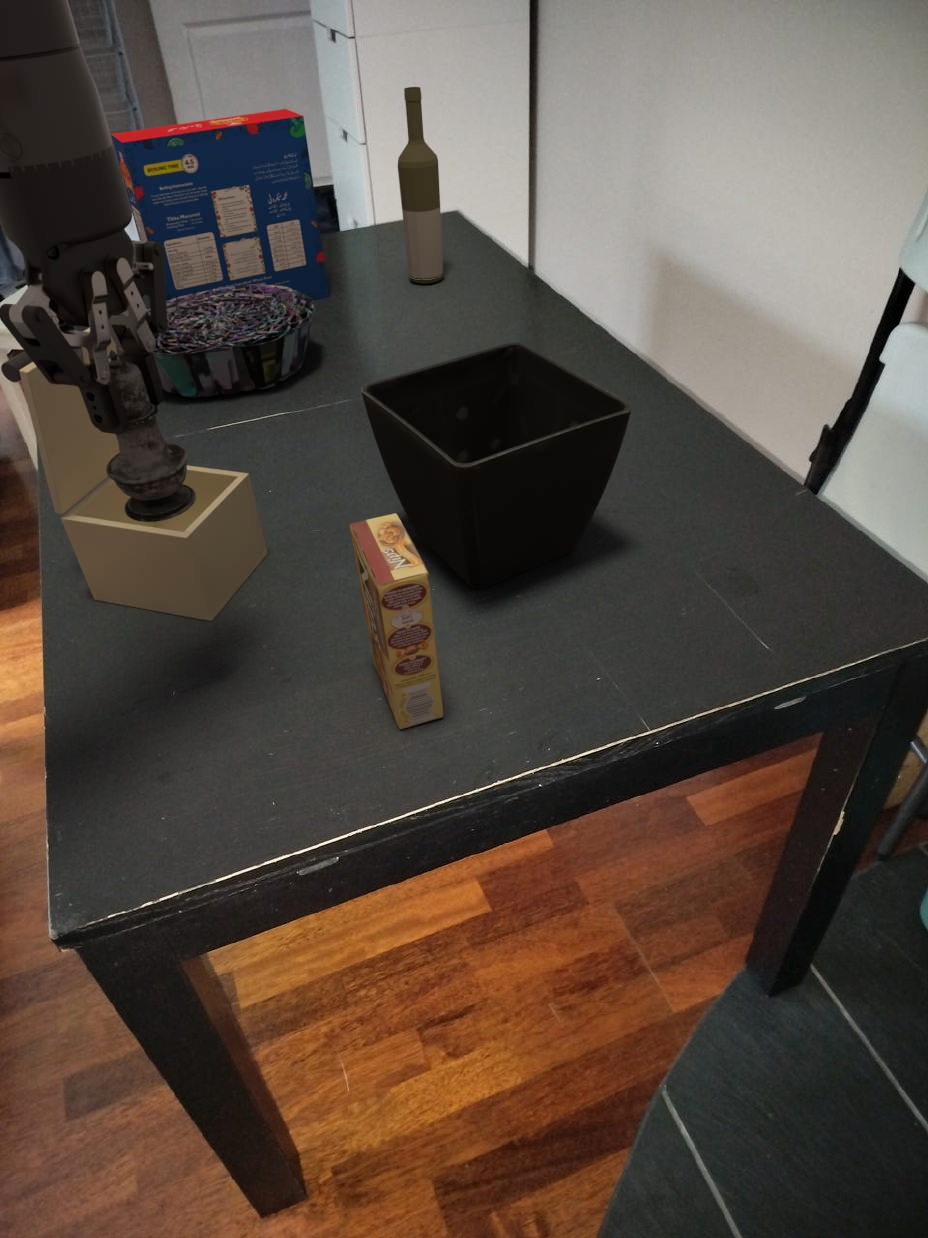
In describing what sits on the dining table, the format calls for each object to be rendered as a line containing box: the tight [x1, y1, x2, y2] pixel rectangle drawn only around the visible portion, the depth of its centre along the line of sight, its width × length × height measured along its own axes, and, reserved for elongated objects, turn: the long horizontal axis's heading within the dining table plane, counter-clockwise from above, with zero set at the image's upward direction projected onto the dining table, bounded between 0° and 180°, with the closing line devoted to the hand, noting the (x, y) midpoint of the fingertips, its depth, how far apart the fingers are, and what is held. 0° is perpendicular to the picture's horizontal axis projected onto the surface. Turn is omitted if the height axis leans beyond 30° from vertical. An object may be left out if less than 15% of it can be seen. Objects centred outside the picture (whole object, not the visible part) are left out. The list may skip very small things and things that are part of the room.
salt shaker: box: [106, 350, 196, 522], centre depth 61 cm, size 6×6×12 cm
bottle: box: [397, 86, 444, 285], centre depth 146 cm, size 7×7×30 cm
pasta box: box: [110, 108, 330, 302], centre depth 141 cm, size 28×8×28 cm, turn 119°
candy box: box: [349, 512, 444, 730], centre depth 69 cm, size 9×4×15 cm, turn 20°
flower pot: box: [360, 341, 633, 589], centre depth 85 cm, size 19×19×17 cm
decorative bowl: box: [126, 284, 317, 399], centre depth 126 cm, size 26×28×10 cm
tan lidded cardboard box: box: [60, 465, 269, 622], centre depth 86 cm, size 14×12×10 cm
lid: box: [0, 327, 119, 515], centre depth 80 cm, size 14×12×5 cm
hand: (132, 415), depth 61 cm, fingers closed on salt shaker, 3 cm apart
